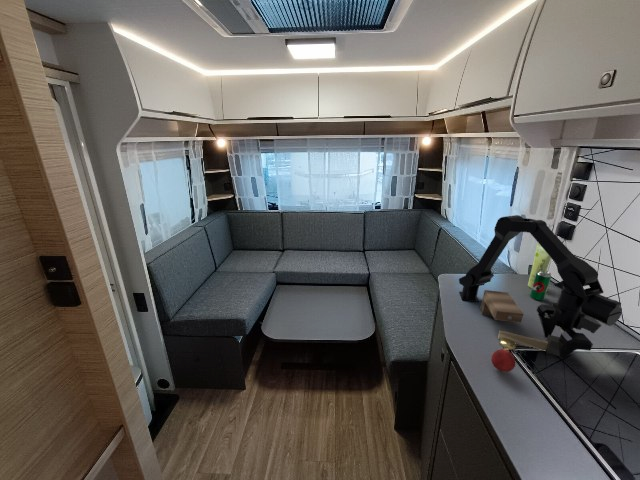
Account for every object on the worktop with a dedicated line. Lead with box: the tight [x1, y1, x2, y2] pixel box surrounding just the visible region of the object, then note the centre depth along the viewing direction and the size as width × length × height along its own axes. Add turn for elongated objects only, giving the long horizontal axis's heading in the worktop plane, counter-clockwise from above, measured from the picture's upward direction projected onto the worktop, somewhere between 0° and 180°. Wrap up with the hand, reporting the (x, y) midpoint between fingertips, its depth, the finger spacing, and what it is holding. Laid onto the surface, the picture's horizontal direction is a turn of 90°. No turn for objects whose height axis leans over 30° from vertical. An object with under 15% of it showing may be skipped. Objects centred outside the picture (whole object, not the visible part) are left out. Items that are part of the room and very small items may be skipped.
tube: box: [527, 243, 552, 289], centre depth 128 cm, size 6×5×20 cm
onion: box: [490, 348, 516, 373], centre depth 84 cm, size 6×6×8 cm
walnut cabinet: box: [479, 289, 525, 324], centre depth 105 cm, size 15×8×9 cm, turn 168°
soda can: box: [529, 270, 552, 301], centre depth 120 cm, size 5×5×12 cm
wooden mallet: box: [497, 330, 560, 357], centre depth 94 cm, size 3×17×5 cm, turn 66°
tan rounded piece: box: [499, 338, 517, 351], centre depth 95 cm, size 4×4×2 cm
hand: (554, 347), depth 92 cm, fingers open, 9 cm apart
